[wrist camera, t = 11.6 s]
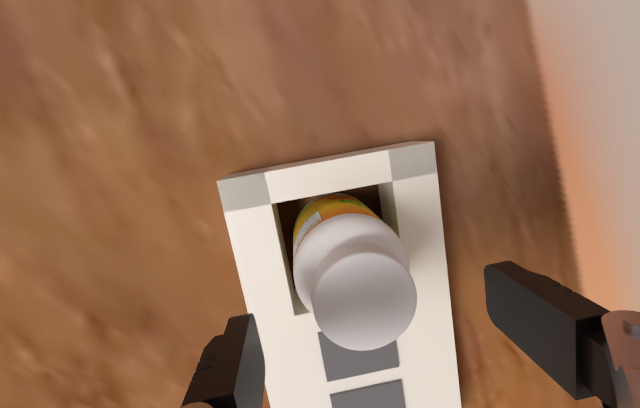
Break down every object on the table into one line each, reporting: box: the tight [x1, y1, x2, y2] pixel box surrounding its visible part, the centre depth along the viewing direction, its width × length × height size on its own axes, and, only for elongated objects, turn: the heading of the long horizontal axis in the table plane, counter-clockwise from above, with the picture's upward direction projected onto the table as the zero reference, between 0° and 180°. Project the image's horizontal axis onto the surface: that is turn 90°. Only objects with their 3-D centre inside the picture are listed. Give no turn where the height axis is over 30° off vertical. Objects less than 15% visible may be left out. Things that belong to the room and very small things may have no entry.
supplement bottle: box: [293, 193, 417, 351], centre depth 17 cm, size 5×5×10 cm
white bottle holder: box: [217, 141, 461, 408], centre depth 21 cm, size 20×12×4 cm, turn 10°
